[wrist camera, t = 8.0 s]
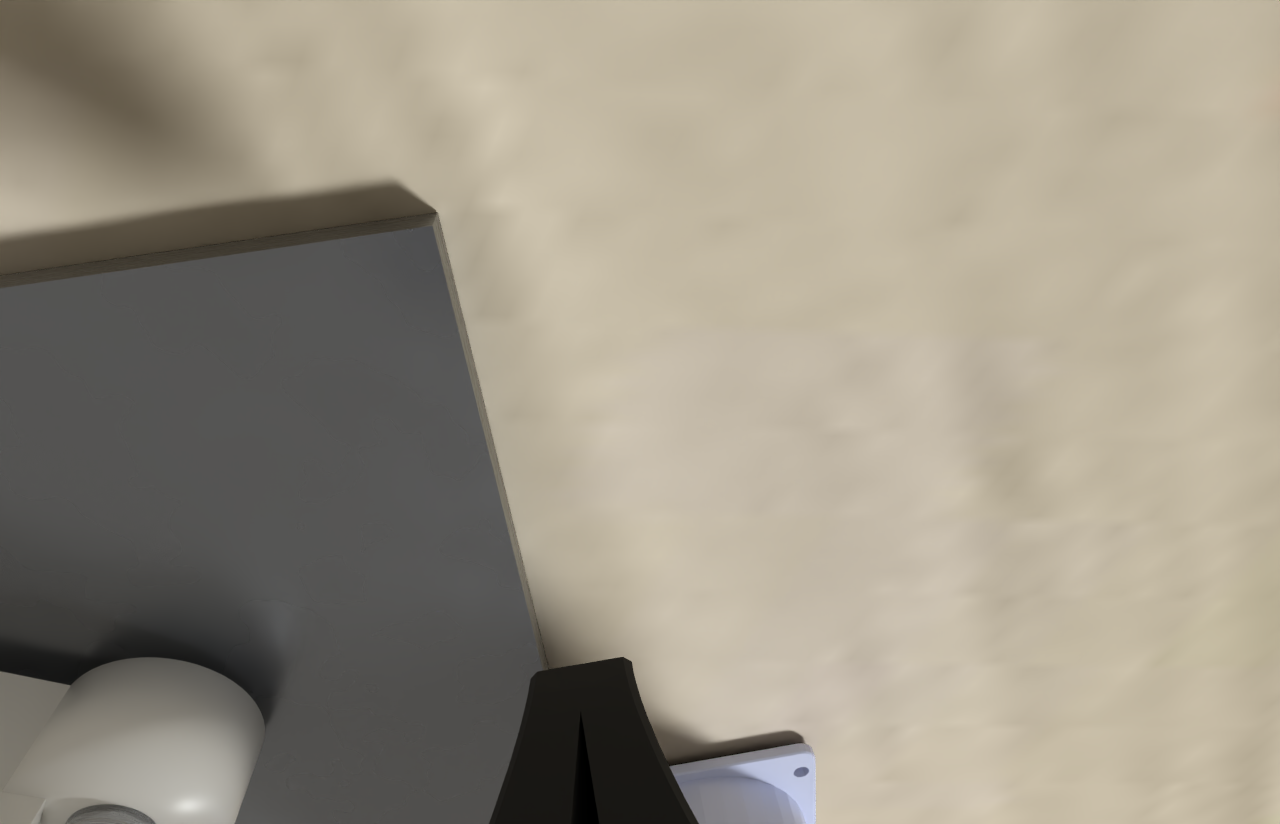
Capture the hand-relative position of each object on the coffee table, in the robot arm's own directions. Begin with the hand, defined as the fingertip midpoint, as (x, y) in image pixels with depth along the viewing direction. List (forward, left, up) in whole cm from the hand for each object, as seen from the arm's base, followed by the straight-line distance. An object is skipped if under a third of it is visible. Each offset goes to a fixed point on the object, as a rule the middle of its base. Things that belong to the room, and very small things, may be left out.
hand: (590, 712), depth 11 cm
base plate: (-5, +12, -9) cm, 16 cm away
